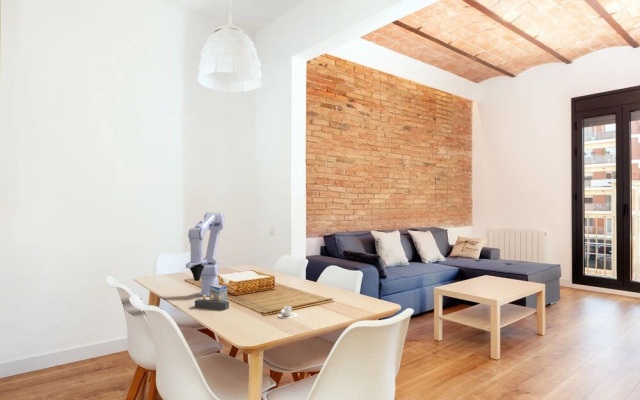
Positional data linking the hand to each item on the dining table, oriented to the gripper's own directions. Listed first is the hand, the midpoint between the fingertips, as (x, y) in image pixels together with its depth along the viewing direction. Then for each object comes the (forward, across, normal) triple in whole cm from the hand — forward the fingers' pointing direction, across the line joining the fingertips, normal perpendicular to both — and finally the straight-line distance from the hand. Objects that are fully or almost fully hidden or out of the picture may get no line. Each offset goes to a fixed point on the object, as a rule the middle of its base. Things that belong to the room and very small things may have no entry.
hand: (196, 280), depth 186 cm
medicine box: (+11, 0, -12) cm, 16 cm away
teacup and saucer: (+11, -5, -51) cm, 53 cm away
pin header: (+11, -6, -12) cm, 17 cm away
